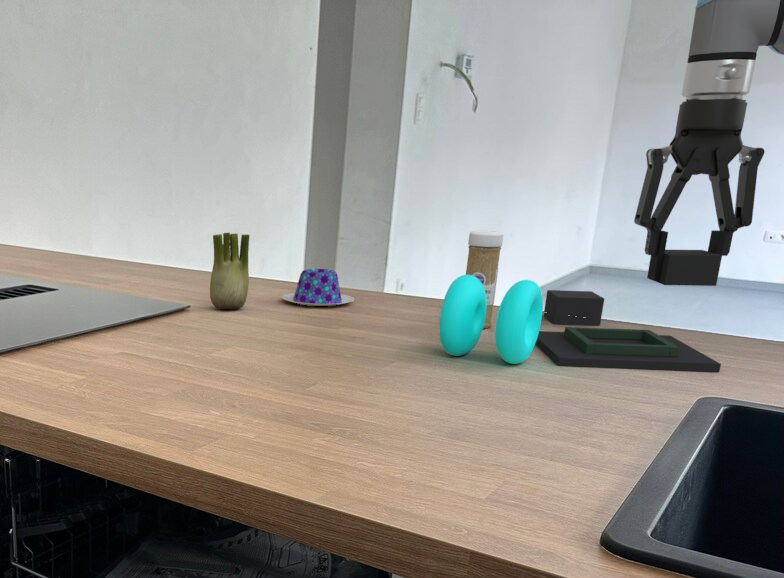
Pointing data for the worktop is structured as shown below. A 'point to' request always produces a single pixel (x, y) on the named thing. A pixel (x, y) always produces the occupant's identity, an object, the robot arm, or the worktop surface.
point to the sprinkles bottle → (485, 264)
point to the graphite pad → (573, 307)
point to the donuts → (512, 325)
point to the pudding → (318, 289)
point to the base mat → (622, 350)
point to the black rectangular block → (690, 268)
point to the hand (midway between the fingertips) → (681, 279)
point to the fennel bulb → (229, 271)
